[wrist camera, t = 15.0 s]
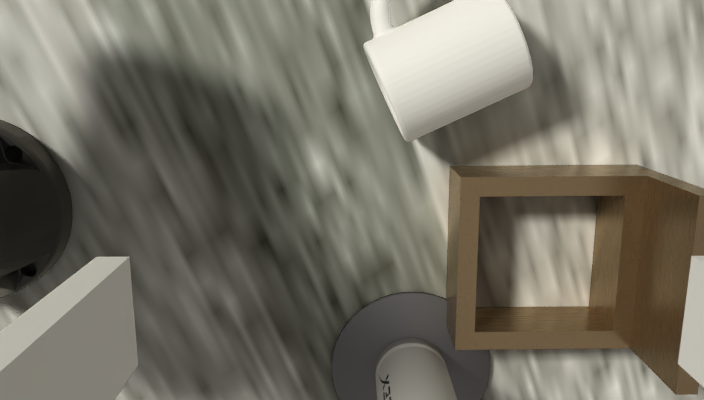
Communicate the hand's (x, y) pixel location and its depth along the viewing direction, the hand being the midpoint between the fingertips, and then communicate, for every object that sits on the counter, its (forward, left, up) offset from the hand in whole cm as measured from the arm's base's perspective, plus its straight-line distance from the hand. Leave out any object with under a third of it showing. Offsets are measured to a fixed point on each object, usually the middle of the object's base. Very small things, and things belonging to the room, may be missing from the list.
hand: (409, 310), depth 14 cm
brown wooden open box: (+14, -10, -37) cm, 40 cm away
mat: (+4, -21, -37) cm, 42 cm away
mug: (+5, +7, -37) cm, 38 cm away
